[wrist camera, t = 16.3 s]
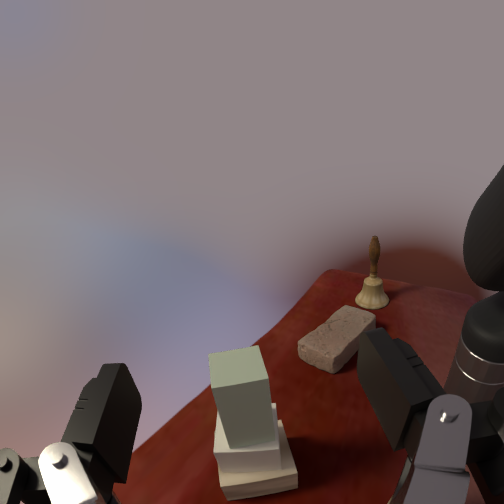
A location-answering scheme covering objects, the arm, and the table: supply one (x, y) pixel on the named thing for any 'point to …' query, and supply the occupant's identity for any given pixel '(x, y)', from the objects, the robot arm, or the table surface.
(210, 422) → the table surface
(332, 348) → the brick
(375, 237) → the hand bell
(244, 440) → the sage pillar
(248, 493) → the tower base
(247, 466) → the tower top
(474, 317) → the robot arm
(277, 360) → the table surface
